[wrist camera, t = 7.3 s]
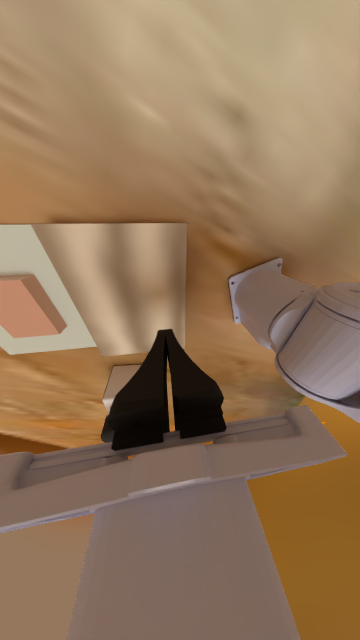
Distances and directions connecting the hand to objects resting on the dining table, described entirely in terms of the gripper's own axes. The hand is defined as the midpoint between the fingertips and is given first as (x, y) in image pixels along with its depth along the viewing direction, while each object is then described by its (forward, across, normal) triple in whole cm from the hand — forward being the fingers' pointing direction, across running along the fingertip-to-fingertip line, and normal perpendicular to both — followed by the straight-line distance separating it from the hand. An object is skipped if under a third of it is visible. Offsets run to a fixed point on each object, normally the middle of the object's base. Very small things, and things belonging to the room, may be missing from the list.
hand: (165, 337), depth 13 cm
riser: (+9, +4, 0) cm, 10 cm away
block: (+7, +18, 0) cm, 20 cm away
